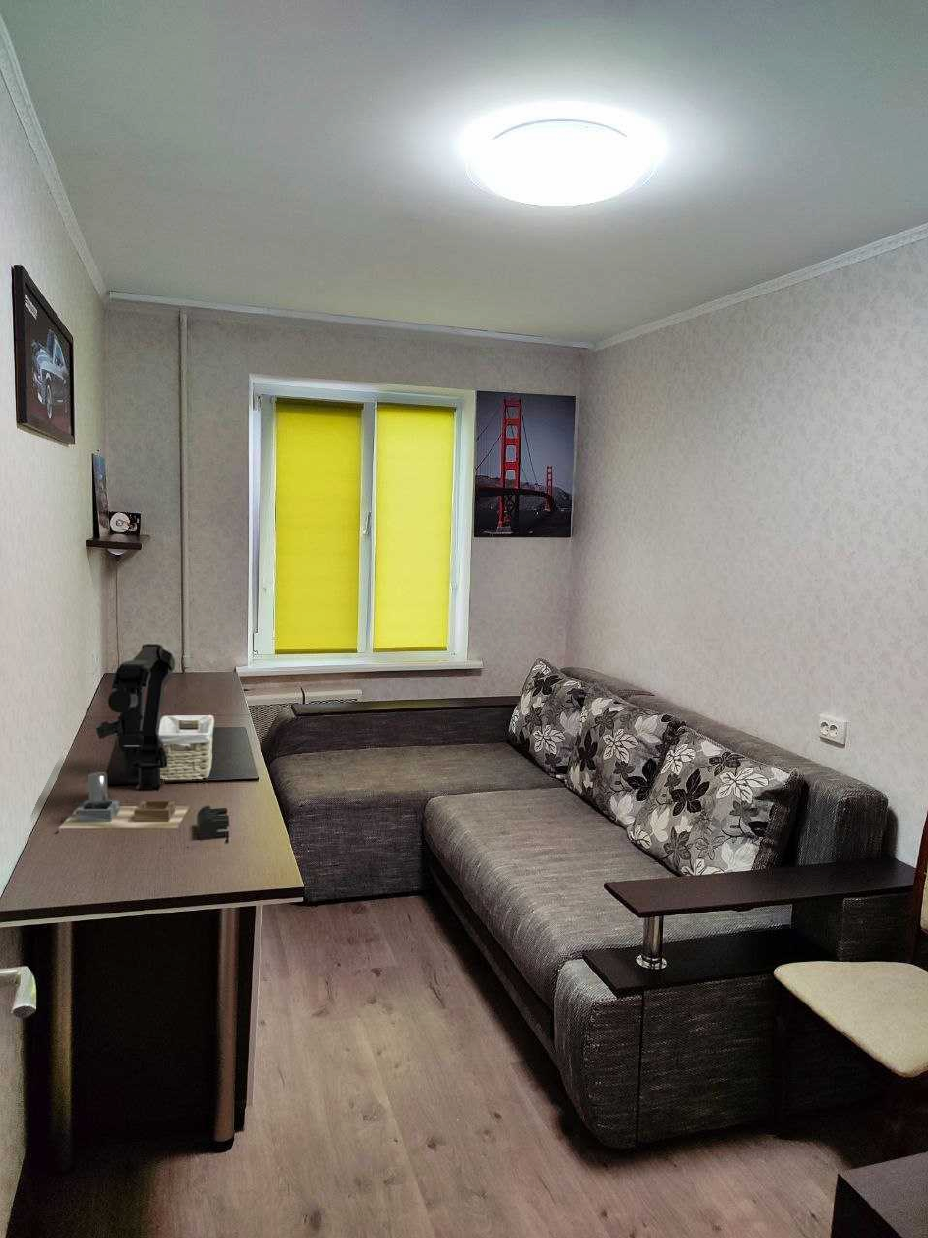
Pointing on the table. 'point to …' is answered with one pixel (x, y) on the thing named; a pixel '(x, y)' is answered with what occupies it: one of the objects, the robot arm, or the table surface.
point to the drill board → (128, 815)
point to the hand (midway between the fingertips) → (128, 770)
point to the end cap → (212, 823)
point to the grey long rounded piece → (98, 790)
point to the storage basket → (186, 747)
